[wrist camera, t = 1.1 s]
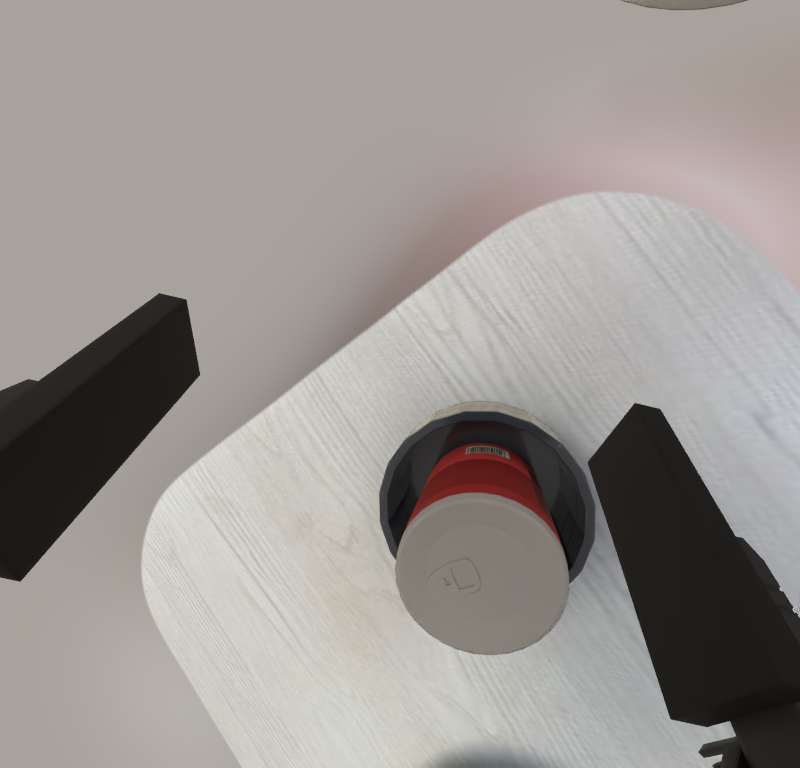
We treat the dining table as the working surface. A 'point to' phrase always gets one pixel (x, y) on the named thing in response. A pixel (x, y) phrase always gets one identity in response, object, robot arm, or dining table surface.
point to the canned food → (483, 554)
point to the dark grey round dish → (505, 429)
